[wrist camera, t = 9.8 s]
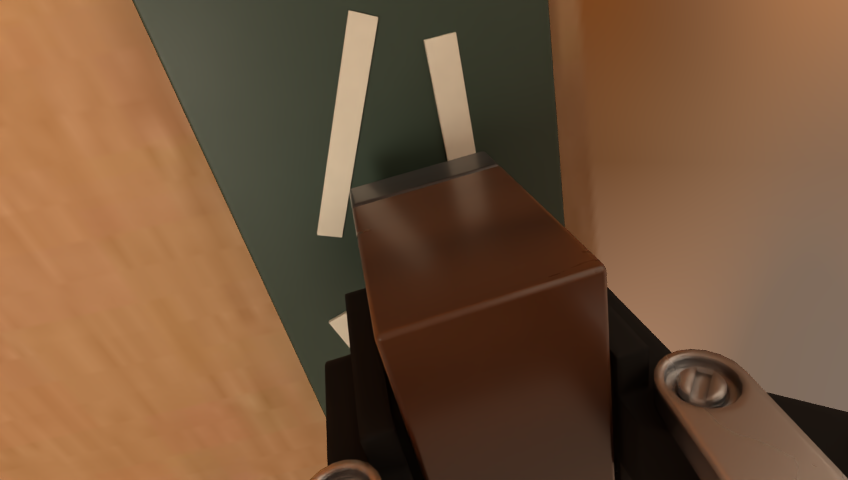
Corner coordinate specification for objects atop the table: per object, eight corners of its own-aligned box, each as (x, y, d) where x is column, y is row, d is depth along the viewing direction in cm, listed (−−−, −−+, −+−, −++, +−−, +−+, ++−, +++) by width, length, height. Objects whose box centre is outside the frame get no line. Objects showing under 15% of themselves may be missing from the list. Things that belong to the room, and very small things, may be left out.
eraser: (347, 187, 10) (373, 338, 6) (484, 149, 10) (609, 266, 6) (421, 414, 14) (472, 616, 9) (522, 381, 14) (620, 563, 9)
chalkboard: (73, -164, 8) (43, -183, 7) (507, -256, 9) (531, -284, 8) (385, 529, 19) (389, 557, 18) (572, 465, 20) (585, 489, 19)
